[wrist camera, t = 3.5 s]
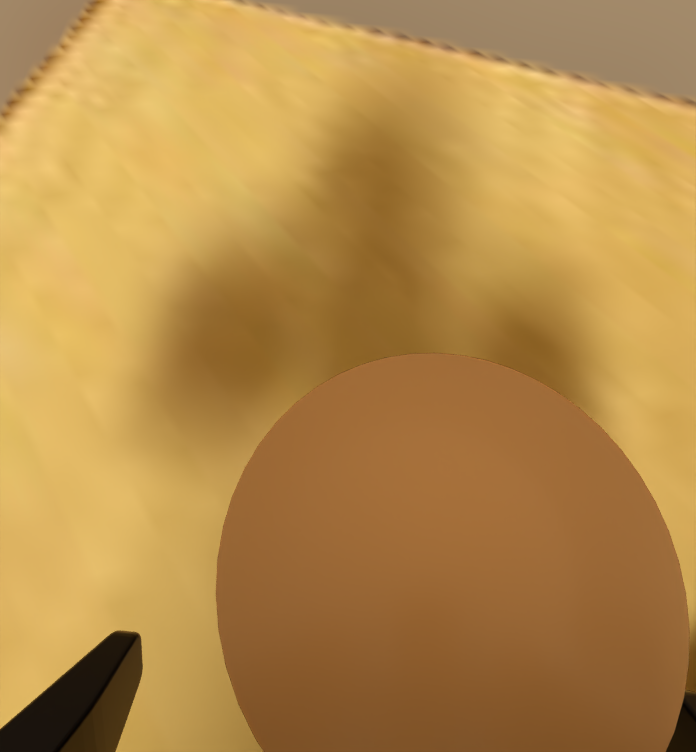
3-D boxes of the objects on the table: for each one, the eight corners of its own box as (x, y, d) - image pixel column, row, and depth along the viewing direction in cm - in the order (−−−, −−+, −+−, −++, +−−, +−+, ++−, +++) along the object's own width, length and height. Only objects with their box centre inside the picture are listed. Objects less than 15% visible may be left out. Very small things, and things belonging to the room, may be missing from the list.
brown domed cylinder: (346, 714, 15) (438, 1061, 4) (253, 567, 17) (127, 512, 6) (469, 598, 17) (782, 609, 6) (373, 475, 19) (463, 289, 7)
